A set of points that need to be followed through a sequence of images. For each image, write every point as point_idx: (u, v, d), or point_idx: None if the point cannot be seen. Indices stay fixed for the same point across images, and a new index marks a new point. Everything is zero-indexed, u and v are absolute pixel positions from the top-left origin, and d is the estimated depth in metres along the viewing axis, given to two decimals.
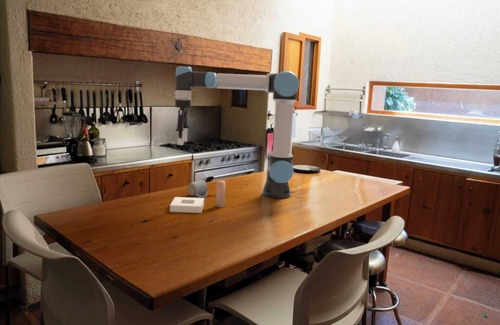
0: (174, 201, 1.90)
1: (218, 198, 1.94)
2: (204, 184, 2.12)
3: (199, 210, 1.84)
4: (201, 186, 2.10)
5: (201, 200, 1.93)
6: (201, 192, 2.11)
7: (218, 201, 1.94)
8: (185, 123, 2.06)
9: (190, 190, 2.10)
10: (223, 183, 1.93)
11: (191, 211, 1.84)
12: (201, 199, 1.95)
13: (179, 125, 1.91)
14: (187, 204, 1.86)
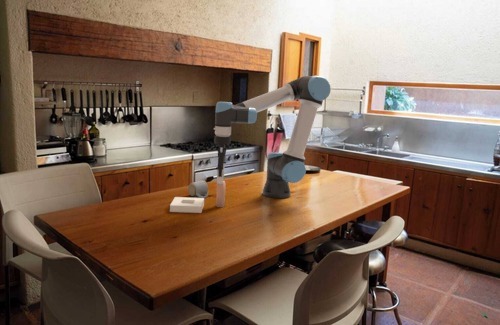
0: (174, 201, 1.90)
1: (218, 198, 1.94)
2: (204, 184, 2.11)
3: (199, 210, 1.84)
4: (202, 186, 2.10)
5: (201, 200, 1.93)
6: (202, 192, 2.10)
7: (218, 201, 1.94)
8: None
9: (191, 190, 2.10)
10: (223, 183, 1.93)
11: (191, 211, 1.84)
12: (201, 199, 1.95)
13: (220, 164, 1.83)
14: (187, 204, 1.86)
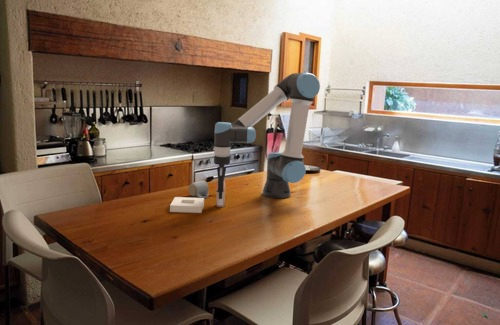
0: (174, 201, 1.90)
1: None
2: (205, 184, 2.11)
3: (199, 210, 1.84)
4: (202, 186, 2.10)
5: (201, 200, 1.93)
6: (202, 192, 2.10)
7: None
8: None
9: (191, 190, 2.10)
10: None
11: (191, 211, 1.84)
12: (201, 199, 1.95)
13: (220, 187, 1.89)
14: (187, 204, 1.86)
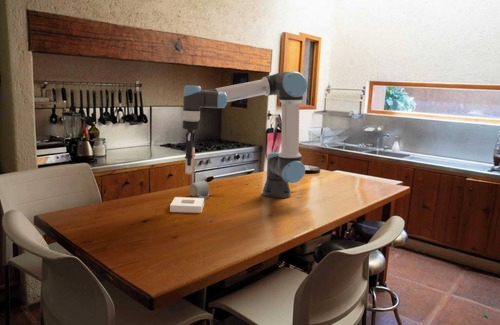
0: (174, 201, 1.90)
1: None
2: (205, 185, 2.10)
3: (199, 210, 1.84)
4: (203, 187, 2.09)
5: (201, 200, 1.93)
6: (203, 193, 2.10)
7: None
8: None
9: (192, 191, 2.09)
10: None
11: (191, 211, 1.84)
12: (201, 199, 1.95)
13: (188, 153, 1.81)
14: (187, 204, 1.86)
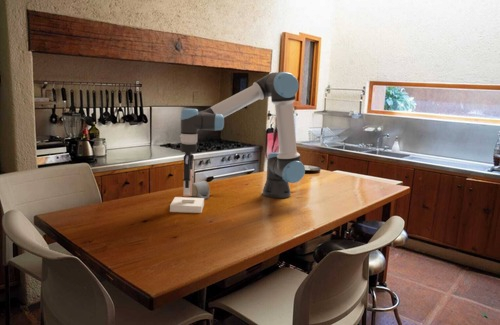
0: (174, 201, 1.90)
1: None
2: (206, 185, 2.10)
3: (199, 210, 1.84)
4: (203, 187, 2.09)
5: (201, 200, 1.93)
6: (203, 193, 2.09)
7: None
8: None
9: (192, 191, 2.09)
10: (190, 171, 1.86)
11: (191, 211, 1.84)
12: (201, 199, 1.95)
13: (186, 176, 1.82)
14: (187, 204, 1.86)
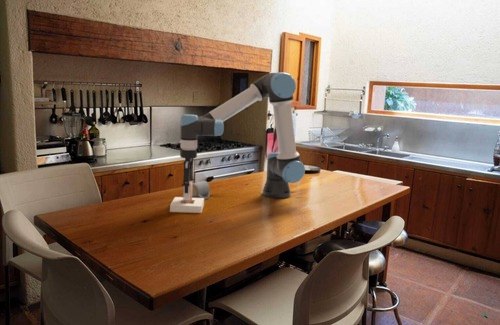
0: (174, 201, 1.90)
1: (185, 200, 1.89)
2: (206, 185, 2.10)
3: (199, 210, 1.84)
4: (203, 187, 2.09)
5: (201, 200, 1.93)
6: (203, 193, 2.09)
7: None
8: (190, 174, 1.92)
9: (192, 191, 2.09)
10: (190, 184, 1.87)
11: (191, 211, 1.84)
12: (201, 199, 1.95)
13: (185, 180, 1.81)
14: (187, 204, 1.86)
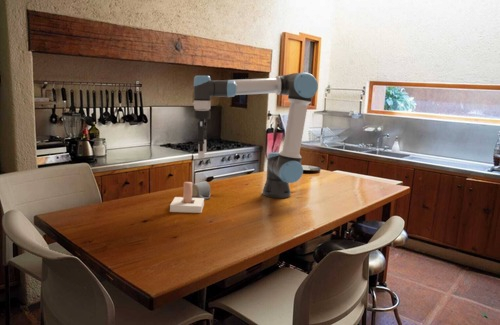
0: (174, 201, 1.90)
1: (185, 200, 1.89)
2: (207, 185, 2.10)
3: (199, 210, 1.84)
4: (204, 187, 2.08)
5: (201, 200, 1.93)
6: (204, 193, 2.09)
7: None
8: (204, 134, 1.96)
9: (193, 191, 2.08)
10: (190, 184, 1.87)
11: (191, 211, 1.84)
12: (201, 199, 1.95)
13: (200, 138, 1.81)
14: (187, 204, 1.86)
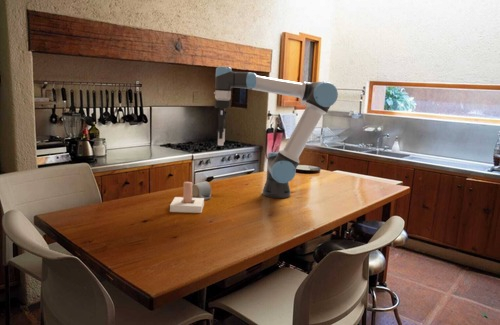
0: (174, 201, 1.90)
1: (185, 200, 1.89)
2: (207, 185, 2.09)
3: (199, 210, 1.84)
4: (205, 187, 2.08)
5: (201, 200, 1.93)
6: (205, 193, 2.08)
7: None
8: (223, 123, 2.05)
9: (194, 191, 2.08)
10: (190, 184, 1.87)
11: (191, 211, 1.84)
12: (201, 199, 1.95)
13: (220, 126, 1.90)
14: (187, 204, 1.86)
